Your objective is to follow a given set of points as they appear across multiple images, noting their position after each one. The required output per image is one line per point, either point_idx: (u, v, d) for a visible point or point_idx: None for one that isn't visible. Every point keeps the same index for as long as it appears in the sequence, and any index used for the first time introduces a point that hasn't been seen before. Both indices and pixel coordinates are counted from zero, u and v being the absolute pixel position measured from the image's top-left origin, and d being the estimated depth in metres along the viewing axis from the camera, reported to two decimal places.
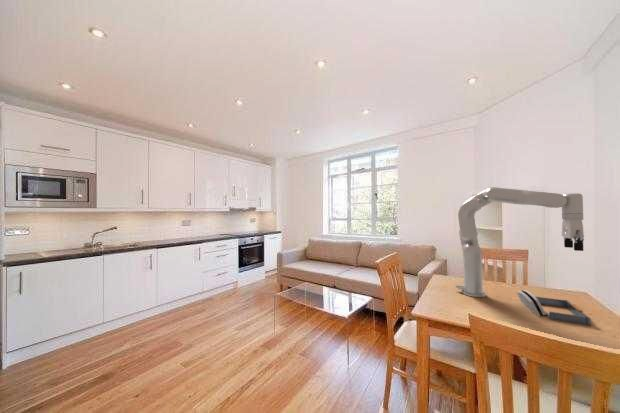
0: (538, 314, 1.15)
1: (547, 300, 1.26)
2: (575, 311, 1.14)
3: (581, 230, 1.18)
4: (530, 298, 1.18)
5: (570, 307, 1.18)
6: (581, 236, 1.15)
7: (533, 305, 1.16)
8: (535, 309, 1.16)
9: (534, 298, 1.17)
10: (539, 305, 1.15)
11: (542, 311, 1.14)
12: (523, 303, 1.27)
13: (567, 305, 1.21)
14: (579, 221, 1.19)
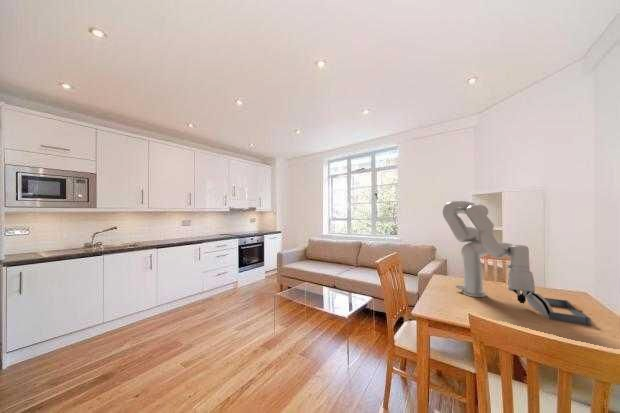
0: (548, 316, 1.13)
1: (547, 300, 1.26)
2: (575, 311, 1.14)
3: None
4: (539, 300, 1.16)
5: (570, 307, 1.18)
6: None
7: (543, 307, 1.14)
8: (545, 311, 1.13)
9: (543, 300, 1.15)
10: (549, 307, 1.13)
11: None
12: (531, 304, 1.25)
13: (567, 305, 1.21)
14: None
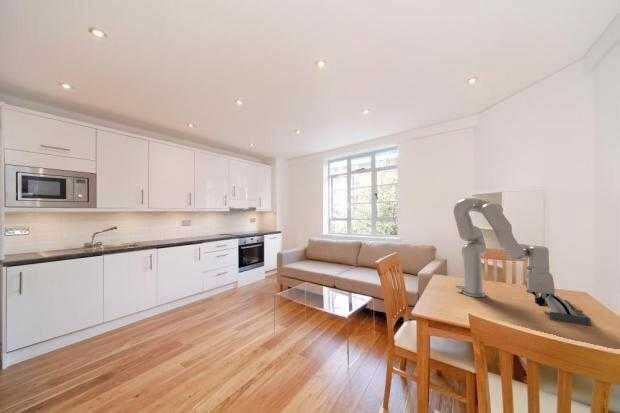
0: None
1: None
2: (575, 311, 1.14)
3: None
4: (560, 303, 1.12)
5: None
6: None
7: (563, 310, 1.10)
8: None
9: (564, 303, 1.11)
10: (570, 310, 1.09)
11: None
12: (551, 308, 1.21)
13: None
14: None
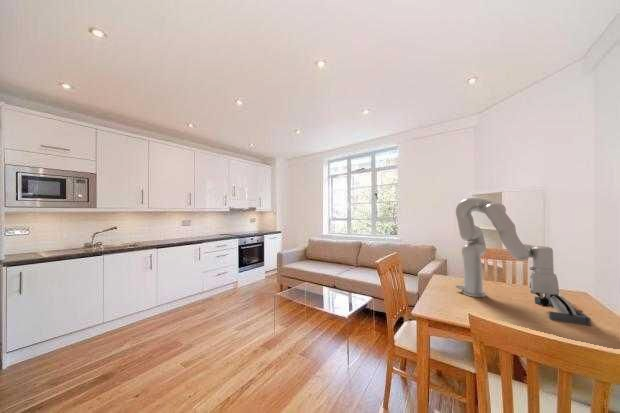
0: None
1: None
2: (575, 311, 1.14)
3: None
4: (562, 303, 1.12)
5: None
6: None
7: (565, 310, 1.09)
8: None
9: (567, 303, 1.10)
10: (572, 311, 1.08)
11: None
12: (556, 308, 1.20)
13: None
14: None
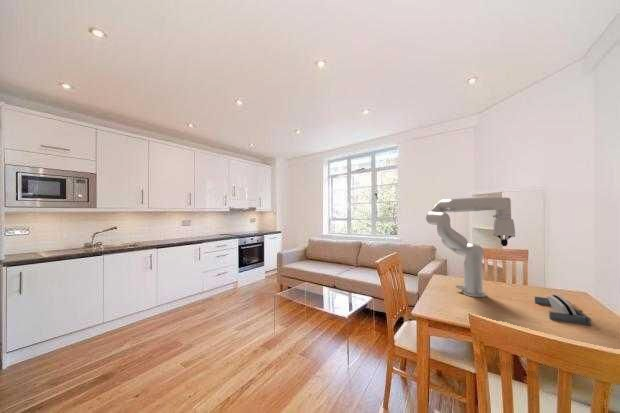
0: None
1: (547, 300, 1.26)
2: (575, 311, 1.14)
3: None
4: (562, 303, 1.12)
5: None
6: (514, 236, 1.44)
7: (566, 310, 1.09)
8: None
9: (567, 303, 1.10)
10: (572, 311, 1.08)
11: None
12: (554, 308, 1.20)
13: None
14: None
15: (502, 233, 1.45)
